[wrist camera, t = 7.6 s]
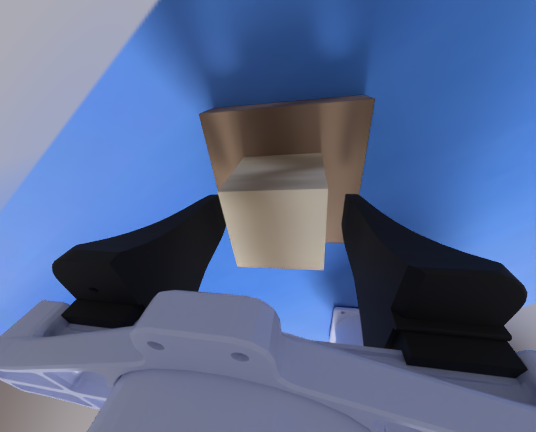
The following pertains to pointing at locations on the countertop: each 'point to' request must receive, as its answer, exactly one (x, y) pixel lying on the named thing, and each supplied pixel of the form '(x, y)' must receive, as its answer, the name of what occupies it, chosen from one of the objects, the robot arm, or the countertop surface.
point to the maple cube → (277, 211)
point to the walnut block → (296, 141)
